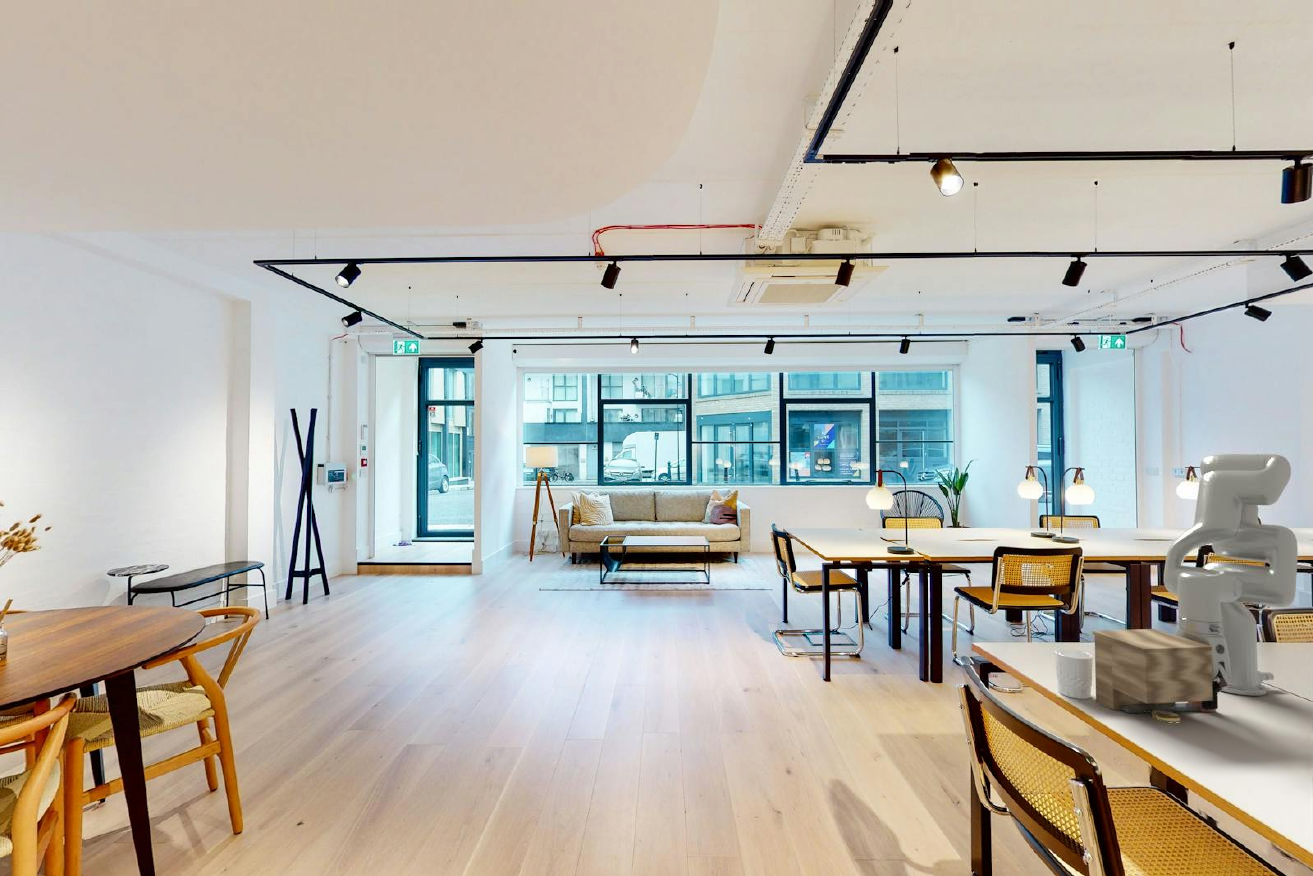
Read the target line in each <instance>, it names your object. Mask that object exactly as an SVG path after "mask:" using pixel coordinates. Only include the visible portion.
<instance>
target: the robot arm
mask: <svg viewBox="0 0 1313 876" xmlns="http://www.w3.org/2000/svg"><path fill="white" fill-rule="evenodd" d="M1199 468H1200V473H1201V477H1200V479H1199V485H1198V491H1197V492H1198V493H1197V498H1196V504H1195V505H1196V506H1195V513H1194V522H1193V525H1192V526H1191V527H1190V528H1189V529H1188V530H1187V531H1185V532H1184V533H1182V534H1181V535H1180V536H1178V537H1177V538H1176V539H1175V540H1174V541H1173V543H1172V544H1171V545H1170V546H1169V549H1168V551H1167V553H1166V557H1165V564H1164V570H1163V584H1164V587H1165V590H1166V591H1167V592H1169V593H1170V594H1171V595H1174V596H1177V607H1178V612H1177V613H1178V627H1177V628H1176V633H1175V635H1176V636H1179V637H1182V638H1186V639H1189V640H1192V641H1195V642H1198V643H1202V644H1205V645H1208V646H1211V647H1212V650H1211V656H1212V683H1213V684H1212V693H1213V700H1212V701H1203V708H1204V709H1206V710H1210V709H1216V710H1218V707H1219V705H1218V701H1219V699H1218V694H1219V693H1221V692H1226V693H1228V694H1229V693H1230V694H1234V695H1235V694H1236V695H1243V696H1253V697H1255V696H1257V697H1258V696H1265V695H1267V693H1268V688H1267V687H1266V686H1265V685H1263V684H1262V682H1263V681H1272V680H1274V679H1275V676H1274V674H1273V673H1272V672H1270V671H1268V672H1264V671H1262V672H1261V671H1259V670H1258V669H1259V667H1258V638H1257V637H1258V635H1257V621H1256V618H1255V616H1254V614H1253V613H1252V612H1251V611H1250V610H1249V609H1248V608H1247V607H1246V605H1245V604H1255V605H1261V606H1268V607H1277V608H1285V607H1289V606H1291V605H1292V604H1293V603H1294V601H1295V597H1296V590H1297V571H1298V569H1297V568H1298V553H1299V551H1298V541H1297V538H1296V535H1295V533H1294V532H1293V530H1291V529H1290V528H1288V527H1286V526H1283V525H1277V524H1265V523H1258V522H1259V521H1258V520H1259V519H1258V517H1259V506H1271V505H1274V504H1275V503H1277V502H1278V500H1279V498H1280V497H1281V495H1282V494H1283V492H1284V490H1285V488H1286V487H1287V485H1288V483H1289V481H1290V479H1291V475H1292V468H1291V464H1290V461H1289V460H1288V459H1287V457H1284V456H1283V455H1279V454H1273V453H1272V454H1271V453H1270V454H1269V453H1266V454H1265V453H1262V454H1261V453H1259V454H1256V453H1255V454H1254V453H1253V454H1252V453H1245V454H1244V453H1243V454H1242V453H1226V454H1224V453H1222V454H1214V455H1208V456H1206V457H1204V458H1203V459H1202V460H1201V462H1200V465H1199ZM1210 544H1211V548H1212V551H1213V552H1214V553H1215V554H1216V555H1217V556H1219V557H1222V558H1224V559H1225V558H1226V559H1230V560H1231V559H1232V560H1240V561H1250V562H1261V563H1267V564H1269V566H1264V565H1255V564H1254V565H1253V564H1247V563H1239V562H1238V563H1237V562H1228V561H1227V562H1226V561H1213V562H1209V563H1206V564H1205V565H1203V566H1202V567H1197V566H1188V565H1184V561H1185V559H1186V557H1187V556H1188V555H1189V554H1190V553H1191V552H1192V551H1194V550H1195V549H1198V548H1200V547H1203V546H1207V545H1210ZM1244 603H1245V604H1244Z"/></svg>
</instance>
